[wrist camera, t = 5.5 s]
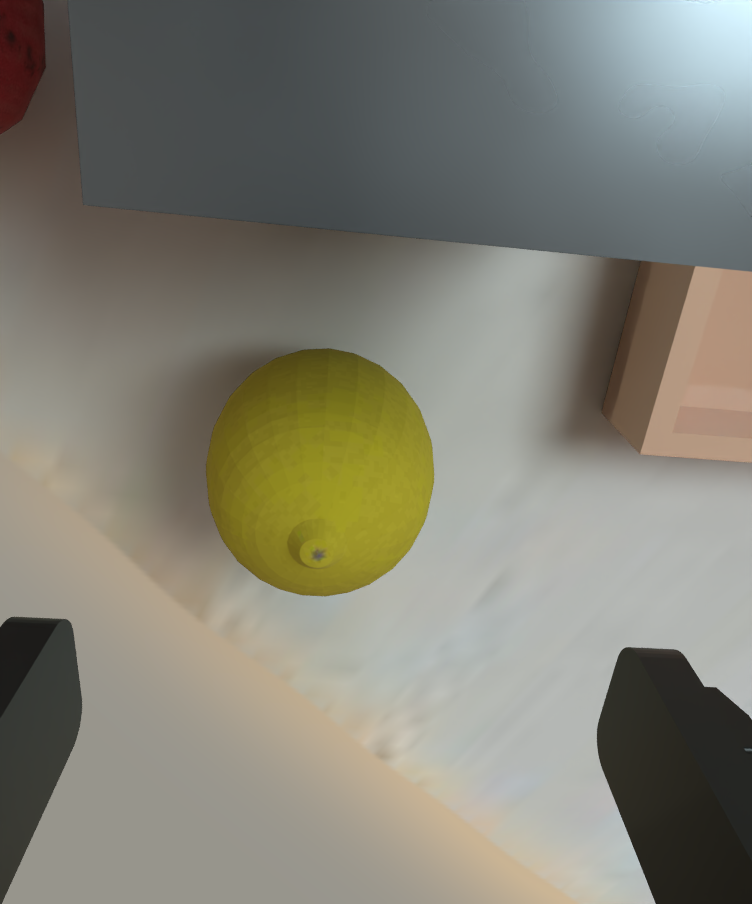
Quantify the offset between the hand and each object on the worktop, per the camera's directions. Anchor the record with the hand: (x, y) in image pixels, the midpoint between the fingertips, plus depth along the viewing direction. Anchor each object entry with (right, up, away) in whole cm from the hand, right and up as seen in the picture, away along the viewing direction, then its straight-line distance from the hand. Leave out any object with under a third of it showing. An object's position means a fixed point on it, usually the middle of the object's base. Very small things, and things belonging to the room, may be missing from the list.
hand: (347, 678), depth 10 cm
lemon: (-1, +5, +11) cm, 12 cm away
